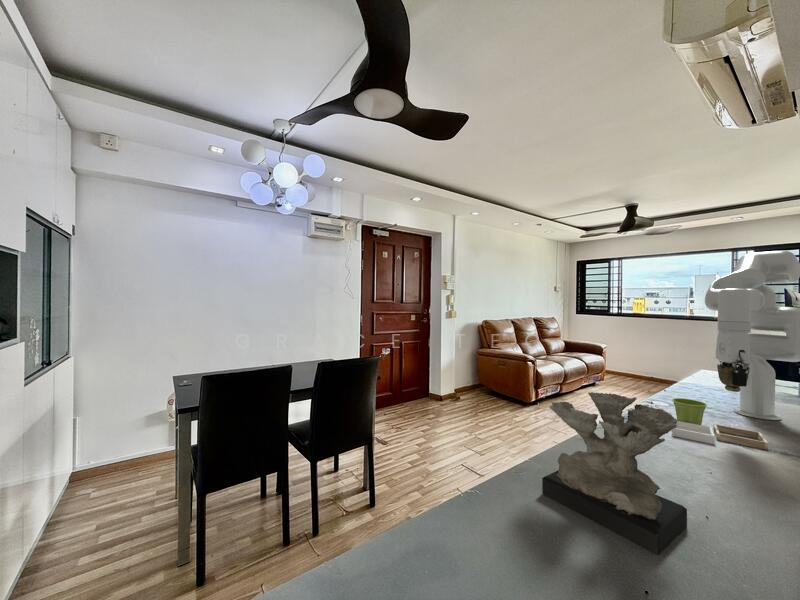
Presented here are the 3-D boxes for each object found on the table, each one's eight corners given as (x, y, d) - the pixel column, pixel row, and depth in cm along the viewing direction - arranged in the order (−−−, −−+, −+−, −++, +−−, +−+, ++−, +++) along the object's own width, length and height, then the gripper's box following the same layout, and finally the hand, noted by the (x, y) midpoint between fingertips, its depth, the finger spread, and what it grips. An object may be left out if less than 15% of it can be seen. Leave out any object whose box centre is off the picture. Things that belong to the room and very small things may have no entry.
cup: (756, 394, 105) (756, 368, 105) (734, 394, 104) (734, 368, 104) (731, 387, 112) (731, 363, 112) (710, 387, 112) (710, 363, 112)
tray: (672, 427, 117) (672, 419, 117) (711, 434, 111) (711, 427, 111) (672, 435, 109) (672, 428, 109) (714, 444, 103) (714, 436, 103)
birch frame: (713, 429, 116) (713, 423, 116) (760, 438, 109) (760, 432, 109) (717, 439, 107) (717, 433, 107) (767, 449, 100) (768, 442, 100)
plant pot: (665, 423, 120) (666, 399, 120) (680, 420, 124) (681, 396, 124) (697, 433, 112) (698, 407, 112) (712, 429, 116) (713, 404, 116)
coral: (527, 486, 78) (529, 392, 78) (578, 464, 88) (580, 382, 88) (655, 557, 56) (658, 428, 56) (701, 518, 67) (703, 409, 67)
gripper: (706, 325, 118) (705, 376, 118) (732, 328, 102) (731, 387, 102) (734, 326, 115) (733, 378, 115) (766, 329, 99) (765, 390, 99)
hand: (732, 382), depth 108 cm, fingers closed on cup, 7 cm apart
